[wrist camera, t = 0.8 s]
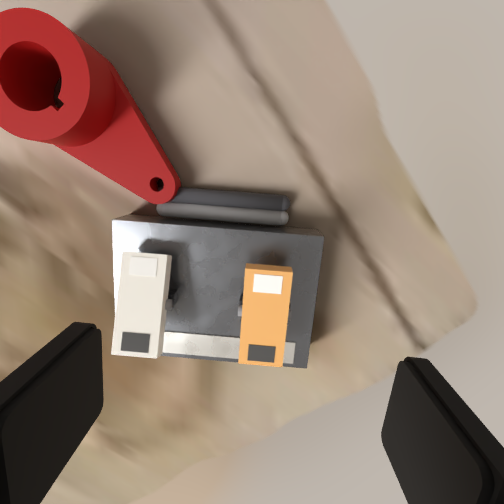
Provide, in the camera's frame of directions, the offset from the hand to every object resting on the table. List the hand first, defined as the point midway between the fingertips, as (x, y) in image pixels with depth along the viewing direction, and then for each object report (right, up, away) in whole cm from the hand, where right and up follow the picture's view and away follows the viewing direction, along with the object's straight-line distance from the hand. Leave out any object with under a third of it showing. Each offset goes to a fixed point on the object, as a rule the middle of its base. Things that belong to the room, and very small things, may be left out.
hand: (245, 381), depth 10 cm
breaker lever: (+1, -2, +19) cm, 19 cm away
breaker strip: (-3, 0, +25) cm, 26 cm away
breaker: (-10, -1, +19) cm, 22 cm away
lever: (-14, +16, +22) cm, 31 cm away
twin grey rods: (-3, +10, +23) cm, 25 cm away
